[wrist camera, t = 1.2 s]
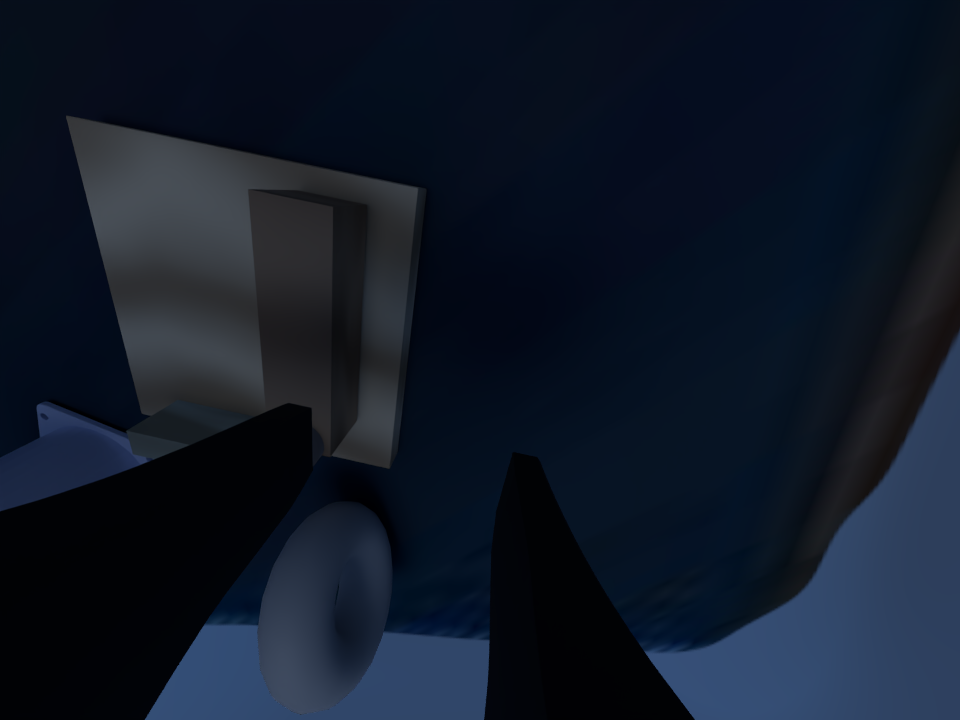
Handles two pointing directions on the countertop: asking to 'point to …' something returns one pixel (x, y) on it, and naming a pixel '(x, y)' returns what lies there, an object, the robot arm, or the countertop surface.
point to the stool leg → (310, 305)
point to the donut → (325, 607)
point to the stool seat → (232, 281)
